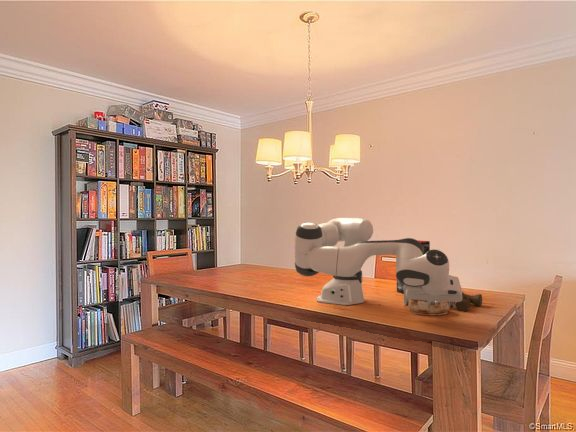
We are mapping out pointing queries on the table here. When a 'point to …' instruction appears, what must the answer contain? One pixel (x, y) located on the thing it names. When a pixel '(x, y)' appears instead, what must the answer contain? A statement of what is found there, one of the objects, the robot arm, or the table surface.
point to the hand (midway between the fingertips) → (432, 303)
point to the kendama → (468, 302)
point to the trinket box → (428, 307)
